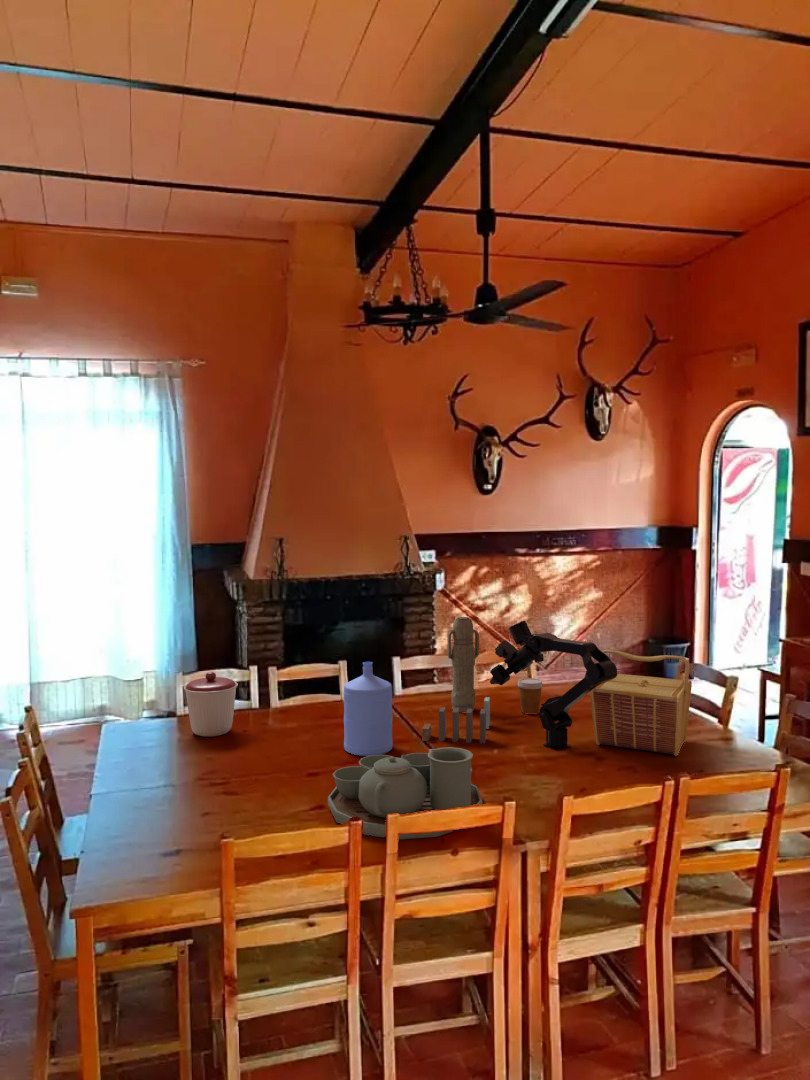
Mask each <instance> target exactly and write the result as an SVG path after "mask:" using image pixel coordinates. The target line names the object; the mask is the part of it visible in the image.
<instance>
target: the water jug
mask: <svg viewBox="0 0 810 1080" xmlns="http://www.w3.org/2000/svg"><path fill="white" fill-rule="evenodd" d="M373 664H374V663H373V661H363V662H362V665H363V666H362V674H361V675H360V676H357V677H356V678H354V679H352V680H350V681H348V682H346V683H344V685H343V694H342V695H343V696H342V697H343V708H344V709H343V710H344V711H343V712H344V713H343V725H344V727H343V728H344V730H343V733H344V736H343V737H344V739H343V749H344V750H345V751H346V752H347V753H348V754H350V753H351V755H353V754H354V755H355V756H358V755H359V756H360V757H367V756H372V755H385V754H386V753H389V752H390V751H391V750H392V749H393V746H394V742H393V740H394V739H393V718H394V717H393V685H392V683H391V682H389V681H388V680H385V679H383V678H380V677H379V676H377V675H376V676H375V674H374V673H373V668H374V667H373ZM359 756H358V757H359Z"/></svg>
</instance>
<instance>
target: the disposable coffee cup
mask: <svg viewBox="0 0 810 1080" xmlns="http://www.w3.org/2000/svg"><path fill="white" fill-rule="evenodd" d="M516 685H517V687H518V692H519V693H518V694H519V695H518V696H519V701H520V710H521V711H522V712H524V713H531V714H532V713H538V712H539V713H540V711H539V710H540V706H541V697H542V689H543V686H544V684H543V680H541V679H539V678H533V677H532V678H531V677H524V678H520V679H518V682H517V684H516ZM522 712H521V713H522ZM539 713H538V714H539Z"/></svg>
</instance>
